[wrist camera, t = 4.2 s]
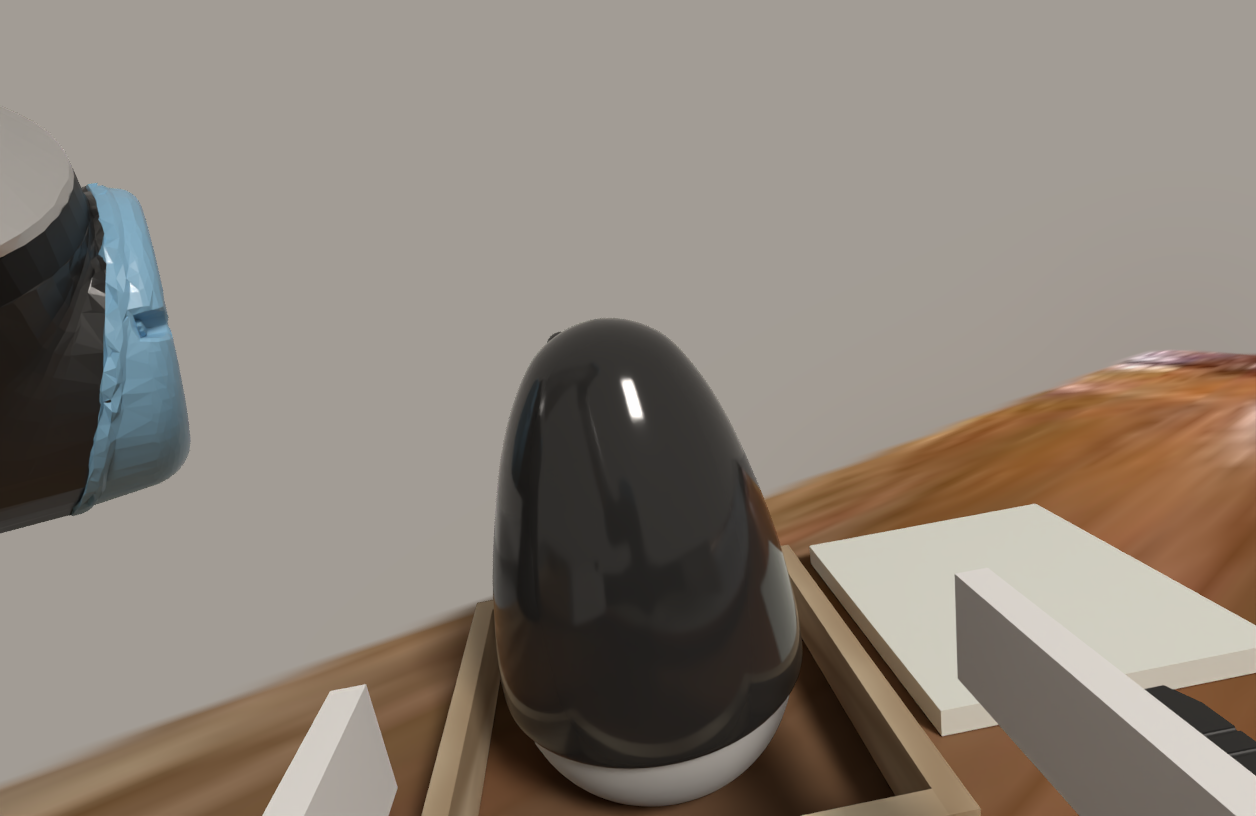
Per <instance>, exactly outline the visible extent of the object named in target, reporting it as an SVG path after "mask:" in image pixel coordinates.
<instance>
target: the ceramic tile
mask: <svg viewBox="0 0 1256 816" xmlns="http://www.w3.org/2000/svg"><path fill="white" fill-rule="evenodd" d="M809 548H810V559H811V564H812V566H813V567H814V568H815V570H816V571H817V572H818V574H819V575H820V576H821V578H822V579H823V580H824V582H825V583H826V584H827V585H828V587H829V588H830V589H831V591H832V592H833V593H834V595H835V596H836V597H837V599H838V600H839V601H840V603H841V604H842V605H843V607H844V608H845V609H846V611H847V612H848V613H849V614H850V616H851V617H852V618H853V620H854V621H855V622H856V624H857V625H858V626H859V628H860V629H861V630H862V632H863V633H864V634H865V636H866V637H867V638H868V640H869V641H870V642H871V643H872V645H873V646H874V647H875V649H876V650H877V651H878V653H879V654H880V655H881V657H882V658H883V659H884V661H885V662H886V663H887V665H888V666H889V667H890V669H891V670H892V671H893V672H894V674H895V675H896V676H897V678H898V679H899V680H900V682H901V683H902V684H903V686H904V687H905V688H906V690H907V691H908V692H909V694H910V695H911V696H912V698H913V699H914V700H915V702H916V703H917V704H918V705H919V707H920V708H921V709H922V711H923V712H924V713H925V715H926V716H927V717H928V719H929V720H930V721H931V723H932V724H933V725H934V727H935V728H936V729H937V731H938V732H939V733H940V734H941V736H945V735H950V734H955V733H960V732H965V731H970V730H975V729H980V728H985V727H990V726H995V725H999V724H998V723H997V722H996V721H995V720H994V719H993V718H992V717H991V715H990V714H989V713H988V712H987V711H986V710H985V709H984V708H983V706H982V705H981V704H980V703H979V702H978V701H977V700H976V699H975V697H974V696H973V695H972V694H971V693H970V692H969V691H968V690H967V688H966V687H965V686H964V685H963V684H962V683H961V682H960V681H959V679H958V674H957V640H956V607H955V574H956V573H961V572H966V571H972V570H977V569H982V568H989V569H990V570H991V571H993V572H994V573H995V574H996V575H998V576H999V577H1000V578H1002V579H1003V580H1004V581H1006V582H1007V583H1008V584H1009V585H1011V586H1012V587H1013V588H1015V589H1016V590H1017V591H1018V592H1020V593H1021V594H1022V595H1024V596H1025V597H1026V598H1027V599H1029V600H1030V601H1031V602H1033V603H1034V604H1035V605H1036V606H1038V607H1039V608H1040V609H1042V610H1043V611H1044V612H1045V613H1047V614H1048V615H1049V616H1051V617H1052V618H1053V619H1054V620H1056V621H1057V622H1058V623H1060V624H1061V625H1062V626H1063V627H1065V628H1066V629H1067V630H1069V631H1070V632H1071V633H1072V634H1074V635H1075V636H1076V637H1078V638H1079V639H1080V640H1081V641H1083V642H1084V643H1085V644H1087V645H1088V646H1089V647H1091V648H1092V649H1093V650H1094V651H1096V652H1097V653H1098V654H1100V655H1101V656H1102V657H1103V658H1105V659H1106V660H1107V661H1109V662H1110V663H1111V664H1112V665H1114V666H1115V667H1116V668H1118V669H1119V670H1120V671H1121V672H1123V673H1124V674H1125V675H1127V676H1128V677H1129V678H1130V679H1132V680H1133V681H1134V682H1136V683H1137V684H1138V685H1139V686H1141V687H1142V688H1143V689H1147V688H1152V687H1157V686H1162V685H1165V686H1167V687H1169V688H1171V689H1178V688H1183V687H1187V686H1192V685H1197V684H1202V683H1207V682H1212V681H1217V680H1222V679H1227V678H1232V677H1237V676H1242V675H1247V674H1252V673H1256V625H1254V624H1252V623H1250V622H1248V621H1246V620H1245V619H1243V618H1241V617H1239V616H1237V615H1236V614H1234V613H1232V612H1230V611H1228V610H1227V609H1225V608H1223V607H1221V606H1219V605H1218V604H1216V603H1214V602H1212V601H1210V600H1209V599H1207V598H1205V597H1203V596H1201V595H1199V594H1198V593H1196V592H1194V591H1192V590H1190V589H1189V588H1187V587H1185V586H1183V585H1181V584H1180V583H1178V582H1176V581H1174V580H1172V579H1171V578H1169V577H1167V576H1165V575H1163V574H1162V573H1160V572H1158V571H1156V570H1154V569H1153V568H1151V567H1149V566H1147V565H1145V564H1143V563H1142V562H1140V561H1138V560H1136V559H1134V558H1133V557H1131V556H1129V555H1127V554H1125V553H1124V552H1122V551H1120V550H1118V549H1116V548H1115V547H1113V546H1111V545H1109V544H1107V543H1106V542H1104V541H1102V540H1100V539H1098V538H1096V537H1095V536H1093V535H1091V534H1089V533H1087V532H1086V531H1084V530H1082V529H1080V528H1078V527H1077V526H1075V525H1073V524H1071V523H1069V522H1068V521H1066V520H1064V519H1062V518H1060V517H1059V516H1057V515H1055V514H1053V513H1051V512H1049V511H1048V510H1046V509H1044V508H1042V507H1040V506H1039V505H1037V504H1032V505H1026V506H1021V507H1016V508H1010V509H1005V510H1000V511H994V512H989V513H984V514H978V515H973V516H967V517H962V518H957V519H951V520H946V521H941V522H935V523H930V524H925V525H919V526H914V527H909V528H903V529H898V530H893V531H887V532H882V533H876V534H871V535H866V536H860V537H855V538H850V539H844V540H839V541H834V542H828V543H823V544H818V545H812V546H809Z"/></svg>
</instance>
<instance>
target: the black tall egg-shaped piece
mask: <svg viewBox="0 0 1256 816" xmlns="http://www.w3.org/2000/svg"><path fill="white" fill-rule="evenodd" d="M494 527H495V528H494V545H493V603H494V622H495V637H496V650H497V660H498V667H499V673H500V679H501V684H502V688H503V692H504V696H505V700H506V703H507V706H508V709H509V711H510V713H511V715H512V717H513V719H514V720H515V722H516V723H517V725H518V726H519V727H520V728H521V730H522V731H523V732H524V733H525V734H526V735H527V736H528V737H530V738H531V739H532V740H533V741H534V742H535V744H536V745H537V747H538V748H539V750H540V751H541V752H542V753H543V755H544V756H545V757H546V758H547V760H548V761H549V762H550V763H551V764H552V765H553V766H554V767H555V768H556V769H557V770H558V771H559V772H560V773H561V774H562V775H563V776H565V777H566V778H567V779H569V780H570V781H571V782H573V783H574V784H576V785H577V786H579V787H581V788H582V789H584V790H586V791H588V792H589V793H592V794H594V795H596V796H599V797H601V798H604V799H607V800H610V801H613V802H617V803H622V804H626V805H634V806H650V807H655V806H668V805H675V804H680V803H684V802H688V801H692V800H695V799H698V798H701V797H703V796H705V795H708V794H710V793H712V792H714V791H716V790H718V789H720V788H722V787H724V786H725V785H727V784H728V783H730V782H732V781H733V780H734V779H736V778H737V777H738V776H739V775H741V774H742V773H743V772H744V771H746V770H747V769H748V768H749V767H750V766H751V765H752V764H753V763H754V762H755V761H756V759H757V758H758V757H759V756H760V755H761V754H762V752H763V751H764V750H765V748H766V747H767V745H768V744H769V742H770V741H771V739H772V738H773V736H774V734H775V732H776V730H777V728H778V726H779V724H780V722H781V720H782V717H783V714H784V711H785V708H786V705H787V702H788V698H789V694H790V693H791V691H792V689H793V687H794V685H795V683H796V681H797V678H798V675H799V672H800V668H801V663H802V637H801V628H800V621H799V615H798V610H797V605H796V600H795V596H794V592H793V588H792V585H791V581H790V577H789V573H788V570H787V566H786V563H785V559H784V556H783V552H782V549H781V545H780V542H779V539H778V536H777V533H776V530H775V527H774V524H773V521H772V518H771V515H770V513H769V510H768V507H767V505H766V502H765V500H764V497H763V495H762V492H761V490H760V487H759V485H758V482H757V480H756V478H755V475H754V473H753V470H752V468H751V466H750V464H749V461H748V459H747V457H746V454H745V452H744V450H743V448H742V445H741V443H740V441H739V439H738V437H737V435H736V433H735V431H734V429H733V427H732V425H731V423H730V421H729V419H728V417H727V415H726V414H725V412H724V410H723V408H722V406H721V405H720V403H719V401H718V399H717V398H716V396H715V394H714V393H713V391H712V389H711V388H710V386H709V385H708V383H707V382H706V380H705V379H704V378H703V376H702V375H701V374H700V372H699V371H698V370H697V368H696V367H695V366H694V365H693V363H692V362H691V361H690V360H689V358H688V357H687V356H686V355H685V354H684V353H683V352H682V350H681V349H680V348H679V347H678V346H677V345H676V344H675V343H674V342H672V341H671V340H670V339H669V338H668V337H666V336H665V335H664V334H662V333H660V332H659V331H657V330H655V329H653V328H651V327H649V326H647V325H644V324H641V323H638V322H634V321H630V320H626V319H618V318H602V319H594V320H590V321H586V322H583V323H579V324H577V325H574V326H572V327H570V328H568V329H566V330H565V331H563V332H557V333H555V334H553V335H552V336H551V337H550V338H549V339H548V341H547V344H546V345H545V346H544V347H542V349H541V350H540V351H539V352H538V353H537V354H536V356H535V357H534V358H533V360H532V361H531V363H530V365H529V367H528V369H527V371H526V373H525V375H524V377H523V379H522V382H521V384H520V387H519V390H518V392H517V395H516V398H515V401H514V403H513V407H512V410H511V413H510V417H509V421H508V425H507V429H506V433H505V438H504V443H503V449H502V454H501V461H500V468H499V476H498V486H497V498H496V511H495V526H494Z"/></svg>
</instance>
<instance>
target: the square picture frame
mask: <svg viewBox="0 0 1256 816" xmlns="http://www.w3.org/2000/svg"><path fill="white" fill-rule="evenodd" d="M781 549H782V552H783V556H784V559H785V563H786V566H787V570H788V573H789V577H790V581H791V585H792V588H793V592H794V596H795V600H796V605H797V610H798V615H799V621H800V628H801V637H802V639H803V641H804V642H805V644H806V646H807V647H808V649H809V651H810V653H811V654H812V656H813V658H814V659H815V661H816V663H817V664H818V666H819V668H820V669H821V671H822V673H823V674H824V676H825V678H826V680H827V681H828V683H829V685H830V686H831V688H832V690H833V691H834V693H835V695H836V696H837V698H838V700H839V702H840V703H841V705H842V707H843V708H844V710H845V712H846V713H847V715H848V717H849V718H850V720H851V722H852V724H853V725H854V727H855V729H856V730H857V732H858V734H859V735H860V737H861V739H862V740H863V742H864V744H865V746H866V747H867V749H868V751H869V752H870V754H871V756H872V757H873V759H874V761H875V762H876V764H877V766H878V768H879V769H880V771H881V773H882V774H883V776H884V778H885V779H886V781H887V783H888V784H889V786H890V788H891V789H892V791H893V793H894V795H895V796H894V797H889V798H884V799H879V800H875V801H870V802H865V803H860V804H855V805H850V806H846V807H841V808H836V809H831V810H826V811H821V812H816V813H812V814H807V815H802V816H981V809H980V807H979V806H978V804H977V803H976V802H975V800H974V799H973V798H972V796H971V795H970V793H969V792H968V791H967V789H966V788H965V787H964V785H963V784H962V782H961V781H960V780H959V778H958V777H957V776H956V774H955V773H954V772H953V770H952V769H951V767H950V766H949V765H948V763H947V762H946V761H945V759H944V758H943V756H942V755H941V754H940V752H939V751H938V750H937V748H936V747H935V745H934V744H933V743H932V741H931V740H930V739H929V737H928V736H927V735H926V733H925V732H924V730H923V729H922V728H921V726H920V725H919V724H918V722H917V721H916V719H915V718H914V717H913V715H912V714H911V713H910V711H909V710H908V708H907V707H906V706H905V704H904V703H903V702H902V700H901V699H900V698H899V696H898V695H897V693H896V692H895V691H894V689H893V688H892V687H891V685H890V684H889V682H888V681H887V680H886V678H885V677H884V676H883V674H882V673H881V671H880V670H879V669H878V667H877V666H876V665H875V663H874V662H873V661H872V659H871V658H870V656H869V655H868V654H867V652H866V651H865V650H864V648H863V647H862V645H861V644H860V643H859V641H858V640H857V639H856V637H855V636H854V634H853V633H852V632H851V630H850V629H849V628H848V626H847V625H846V623H845V622H844V621H843V619H842V618H841V617H840V615H839V614H838V613H837V611H836V610H835V608H834V607H833V606H832V604H831V603H830V602H829V600H828V599H827V597H826V596H825V595H824V593H823V592H822V591H821V589H820V588H819V586H818V585H817V584H816V582H815V581H814V580H813V578H812V577H811V576H810V574H809V573H808V571H807V570H806V569H805V567H804V566H803V565H802V563H801V562H800V560H799V559H798V558H797V556H796V555H795V554H794V552H793V551H792V549H791V548H790V547H789V545H785V546H781ZM499 685H500V673H499V667H498V660H497V650H496V637H495V622H494V603H493V600H490V601H485V602H479V603H477V605H476V609H475V613H474V617H473V621H472V624H471V628H470V632H469V636H468V640H467V643H466V647H465V651H464V655H463V659H462V663H461V666H460V670H459V674H458V678H457V682H456V686H455V689H454V693H453V697H452V701H451V705H450V708H449V712H448V716H447V720H446V724H445V728H444V731H443V735H442V739H441V743H440V747H439V751H438V754H437V758H436V762H435V766H434V770H433V773H432V777H431V781H430V785H429V789H428V793H427V796H426V800H425V804H424V808H423V812H422V816H478V815H479V808H480V802H481V796H482V790H483V784H484V777H485V771H486V765H487V759H488V753H489V747H490V740H491V734H492V728H493V722H494V716H495V709H496V703H497V697H498V691H499Z"/></svg>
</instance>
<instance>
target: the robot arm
mask: <svg viewBox="0 0 1256 816" xmlns="http://www.w3.org/2000/svg"><path fill="white" fill-rule="evenodd" d="M167 321H168V315H167V311H166V307H165V302H164V296H163V289H162V284H161V280H160V275H159V271H158V266H157V263H156V258H155V254H154V250H153V246H152V242H151V238H150V234H149V230H148V227H147V223H146V219H145V216H144V213H143V210H142V207H141V205H140V203H139V201H138V200H137V198H136V197H135V196H134V195H133V194H131V193H130V192H128V191H126V190H122V189H113V188H107V187H105V186H103V185H102V186H97V183H94V184H88V185H87V186H85V187H82V188H81V186H80V184H79V182H78V180H77V177H76V175H75V172H74V171H73V168H72V165H71V163H70V161H69V159H68V157H67V155H66V153H65V151H64V150H63V148H62V147H61V146H60V144H59V143H58V142H57V140H56V139H55V138H54V137H53V136H52V135H51V134H50V133H49V132H48V131H47V130H45V129H44V128H42V127H41V126H39V125H38V124H36V123H35V122H33V121H32V120H30V119H28V118H26V117H24V116H22V115H20V114H18V113H16V112H14V111H12V110H10V109H7V108H5V107H3V106H1V105H0V533H3V532H7V531H11V530H15V529H19V528H22V527H26V526H30V525H34V524H37V523H41V522H45V521H49V520H52V519H56V518H60V517H63V516H68V515H72V516H74V515H78V514H82V513H84V512H86V511H88V510H89V509H91V508H92V507H93V506H94V505H96V504H99V503H102V502H105V501H108V500H111V499H114V498H117V497H120V496H123V495H126V494H129V493H132V492H135V491H138V490H141V489H144V488H147V487H150V486H153V485H156V484H159V483H161V482H163V481H165V480H166V479H168V478H169V477H171V476H172V475H174V474H175V473H176V472H177V471H178V470H179V469H180V468H181V466H182V465H183V464H184V462H185V460H186V458H187V456H188V453H189V448H190V431H189V422H188V415H187V408H186V402H185V396H184V391H183V385H182V381H181V375H180V370H179V364H178V360H177V355H176V350H175V346H174V342H173V338H172V334H171V330H170V328H169V327H168V322H167ZM955 607H956V640H957V674H958V679H959V681H960V682H961V683H962V684H963V685H964V686H965V687H966V688H967V690H968V691H969V692H970V693H971V694H972V695H973V696H974V697H975V699H976V700H977V701H978V702H979V703H980V704H981V705H982V706H983V708H984V709H985V710H986V711H987V712H988V713H989V714H990V715H991V717H992V718H993V719H994V720H995V721H996V722H997V723H998V724H999V726H1000V727H1001V728H1002V729H1003V730H1004V731H1005V732H1006V733H1007V735H1008V736H1009V737H1010V738H1011V739H1012V740H1013V741H1014V742H1015V744H1016V745H1017V746H1018V747H1019V748H1020V749H1021V750H1022V751H1023V753H1024V754H1025V755H1026V756H1027V757H1028V758H1029V759H1030V760H1031V762H1032V763H1033V764H1034V765H1035V766H1036V767H1037V768H1038V769H1039V771H1040V772H1041V773H1042V774H1043V775H1044V776H1045V777H1046V778H1047V780H1048V781H1049V782H1050V783H1051V784H1052V785H1053V786H1054V787H1055V789H1056V790H1057V791H1058V792H1059V793H1060V794H1061V795H1062V796H1063V798H1064V799H1065V800H1066V801H1067V802H1068V803H1069V804H1070V805H1071V807H1072V808H1073V809H1074V810H1075V811H1076V812H1077V813H1078V814H1079V816H1256V741H1254V740H1253V739H1251V738H1250V737H1249V736H1247V735H1246V734H1245V733H1243V732H1242V731H1237V730H1236V729H1235V726H1234V725H1232V724H1231V723H1229V722H1228V721H1227V720H1225V719H1224V718H1223V717H1221V716H1220V715H1218V714H1217V713H1216V712H1214V711H1213V710H1212V709H1210V708H1209V707H1207V706H1206V705H1205V704H1203V703H1202V702H1199V701H1197V700H1195V699H1193V698H1191V697H1189V696H1186V695H1184V694H1182V693H1180V692H1178V691H1176V690H1173V689H1171V688H1169V687H1167V686H1165V685H1162V686H1157V687H1152V688H1147V689H1143V688H1142V687H1141V686H1139V685H1138V684H1137V683H1136V682H1134V681H1133V680H1132V679H1130V678H1129V677H1128V676H1127V675H1125V674H1124V673H1123V672H1121V671H1120V670H1119V669H1118V668H1116V667H1115V666H1114V665H1112V664H1111V663H1110V662H1109V661H1107V660H1106V659H1105V658H1103V657H1102V656H1101V655H1100V654H1098V653H1097V652H1096V651H1094V650H1093V649H1092V648H1091V647H1089V646H1088V645H1087V644H1085V643H1084V642H1083V641H1081V640H1080V639H1079V638H1078V637H1076V636H1075V635H1074V634H1072V633H1071V632H1070V631H1069V630H1067V629H1066V628H1065V627H1063V626H1062V625H1061V624H1060V623H1058V622H1057V621H1056V620H1054V619H1053V618H1052V617H1051V616H1049V615H1048V614H1047V613H1045V612H1044V611H1043V610H1042V609H1040V608H1039V607H1038V606H1036V605H1035V604H1034V603H1033V602H1031V601H1030V600H1029V599H1027V598H1026V597H1025V596H1024V595H1022V594H1021V593H1020V592H1018V591H1017V590H1016V589H1015V588H1013V587H1012V586H1011V585H1009V584H1008V583H1007V582H1006V581H1004V580H1003V579H1002V578H1000V577H999V576H998V575H996V574H995V573H994V572H993V571H991V570H990V569H989V568H982V569H977V570H972V571H966V572H961V573H956V574H955ZM397 788H398V787H397V784H396V781H395V778H394V774H393V771H392V768H391V764H390V761H389V758H388V755H387V751H386V748H385V745H384V742H383V738H382V735H381V732H380V728H379V725H378V722H377V719H376V715H375V712H374V709H373V705H372V702H371V699H370V696H369V692H368V689H367V686H366V684H365V685H360V686H355V687H349V688H344V689H339V690H333V691H330V693H329V694H328V696H327V698H326V700H325V702H324V704H323V705H322V707H321V709H320V711H319V713H318V715H317V716H316V718H315V720H314V722H313V724H312V726H311V727H310V729H309V731H308V733H307V735H306V737H305V738H304V740H303V742H302V744H301V746H300V748H299V749H298V751H297V753H296V755H295V757H294V759H293V760H292V762H291V764H290V766H289V768H288V770H287V771H286V773H285V775H284V777H283V779H282V781H281V782H280V784H279V786H278V788H277V790H276V792H275V793H274V795H273V797H272V799H271V801H270V803H269V804H268V806H267V808H266V810H265V812H264V814H263V815H262V816H389V813H390V809H391V806H392V803H393V800H394V797H395V794H396V791H397Z"/></svg>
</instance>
